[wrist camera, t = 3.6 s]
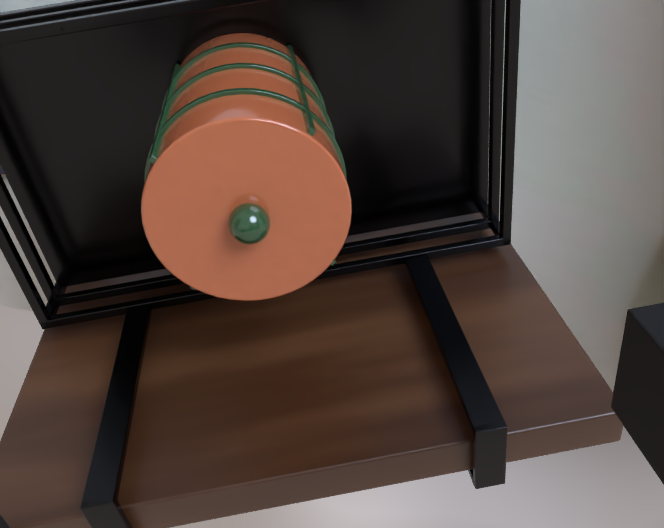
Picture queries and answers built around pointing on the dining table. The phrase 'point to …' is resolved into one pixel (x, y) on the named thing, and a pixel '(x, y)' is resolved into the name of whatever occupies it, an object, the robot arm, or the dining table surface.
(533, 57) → the dining table surface
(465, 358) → the basket
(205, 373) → the rack
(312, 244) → the jar
